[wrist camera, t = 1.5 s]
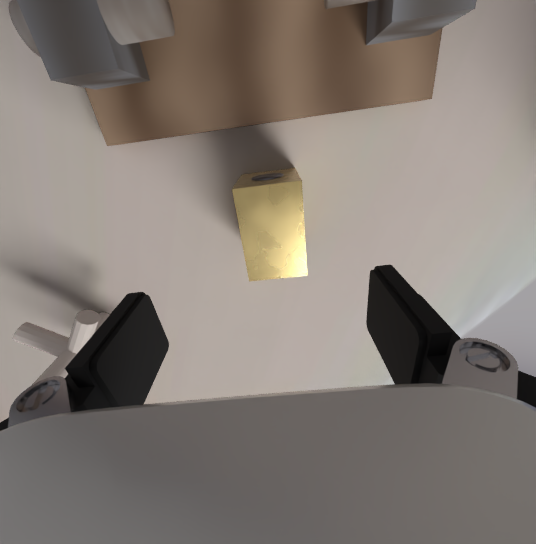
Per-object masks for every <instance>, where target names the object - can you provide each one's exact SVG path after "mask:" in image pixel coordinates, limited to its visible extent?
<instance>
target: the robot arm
mask: <svg viewBox="0 0 536 544" xmlns="http://www.w3.org/2000/svg"><path fill="white" fill-rule="evenodd" d="M367 328H368V331H369V333H370V335H371V337H372V339H373V341H374V343H375V345H376V347H377V349H378V351H379V353H380V355H381V357H382V359H383V361H384V363H385V365H386V367H387V369H388V371H389V373H390V375H391V377H392V379H393V381H394V383H395V384H394V385H378V386H363V387H348V388H335V389H322V390H309V391H297V392H284V393H272V394H259V395H247V396H235V397H224V398H212V399H200V400H189V401H177V402H166V403H155V404H144V402H145V400H146V397H147V395H148V393H149V391H150V389H151V386H152V384H153V382H154V380H155V377H156V375H157V373H158V371H159V369H160V366H161V364H162V362H163V360H164V357H165V355H166V353H167V351H168V347H169V343H168V339H167V337H166V335H165V332H164V330H163V327H162V325H161V323H160V320H159V318H158V315H157V313H156V311H155V308H154V306H153V303H152V301H151V299H150V297H149V296H148V295H146V294H145V293H144V292H137V293H129V294H127V295H126V296H125V298H124V299H123V300H122V301H121V302H120V304H119V305H118V306H117V307H116V308H115V309H114V311H113V312H112V313H111V314H110V315H109V317H108V318H107V319H106V320H105V321H104V322H103V324H102V325H101V326H100V327H99V328H98V330H97V331H96V332H95V333H94V334H93V335H92V337H91V338H90V339H89V340H88V341H87V343H86V344H85V345H84V346H83V347H82V348H81V350H80V351H79V352H78V353H77V354H76V356H75V357H74V358H73V359H72V360H71V361H70V363H69V364H68V365H67V366H66V367H65V370H66V371H67V373H68V375H67V376H66V377H65V378H64V377H61V376H53V377H49V378H45V379H43V380H41V381H38V382H37V383H35V384H33V385H32V386H30V387H29V388H27V389H26V390H25V391H23V392H22V393H21V394H20V395H19V396H18V397H17V398H16V399H15V401H14V402H13V404H12V405H11V408H10V412H9V418H7V419H6V420H4V421H2V422H1V423H0V544H536V377H534V376H531V375H528V374H526V373H523V372H521V371H518V365H517V361H516V360H515V358H514V357H513V356H512V355H511V354H510V353H509V352H508V351H507V350H505V349H504V348H502V347H500V346H498V345H497V344H494V343H492V342H489V341H487V340H482V339H478V338H464V339H461V338H460V337H459V336H458V335H457V334H456V333H455V332H454V331H453V330H452V329H451V328H450V326H449V325H448V324H447V323H446V322H445V321H444V320H443V319H442V318H441V317H440V316H439V315H438V313H437V312H436V311H435V310H434V309H433V308H432V307H431V306H430V305H429V304H428V303H427V301H426V300H425V299H424V298H423V297H422V296H421V295H419V294H417V292H416V291H415V290H414V289H413V288H412V287H411V286H410V285H409V284H408V283H407V281H406V280H405V279H404V278H403V277H402V276H401V275H400V274H399V273H398V272H397V270H396V269H395V268H394V267H393V266H392V265H383V266H376V267H375V269H374V270H371V271H370V280H369V294H368V307H367ZM143 404H144V405H143Z"/></svg>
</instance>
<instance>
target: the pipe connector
mask: <svg viewBox="0 0 536 544" xmlns="http://www.w3.org/2000/svg"><path fill="white" fill-rule="evenodd" d="M109 315H110V314H108V313H104V312H101V313H99V314H98V313H97V312H95V311H93V310H82V311H80V312H78V313H77V315H76V317H75V321H74V324H73V327H72V331H71V334H70V337H69V338H68V337H65V336H62V335H60V334H57V333H55V332H52V331H49V330H47V329H44V328H42V327H39V326H36V325H34V324H31V323H28V322H26V323H24V324H22V325H21V326H20V327H19V328H18V329H17V330H16V332H15V333H14V335H13V337H12V339H13V341H16V342H19V343H21V344H24V345H27V346H30V347H33V348H35V349H38V350H41V351H44V352H46V353H49V354H52V355H55V356H57V357H58V358H57V359H56V360H55V361H54V362H53V363H52V364H51V365H50V366H49V367H48V368H47V369H46V370H45V371H44V372H43V374H42V375H41V376H40V377H39V378H38V379H37V380H36V381H35V382H34V383H33V384H35V383H37V382H38V381H41V380H43V379H45V378H49V377H53V376H61V377H64V378H65V377H66V376H67V375H68V373H67V371H66V370H65V367H66V366H67V365H68V364H69V363H70V361H71V360H72V359H73V358H74V357H75V356H76V354H77V353H78V352H79V351H80V350H81V348H82V347H83V346H84V345H85V344H86V343H87V341H88V340H89V339H90V338H91V337H92V335H93V334H94V333H95V332H96V331H97V330H98V328H99V327H100V326H101V325H102V324H103V322H104V321H105V320H106V319H107V318H108V317H109ZM33 384H32V385H33ZM32 385H31V386H32Z"/></svg>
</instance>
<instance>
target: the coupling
mask: <svg viewBox="0 0 536 544" xmlns="http://www.w3.org/2000/svg"><path fill="white" fill-rule="evenodd" d="M232 192H233V197H234V203H235V208H236V213H237V219H238V224H239V229H240V235H241V240H242V245H243V250H244V256H245V261H246V266H247V272H248V277H249V281H257V280H267V279H277V278H287V277H297V276H307V260H306V244H305V228H304V212H303V195H302V180H301V178H300V177H299V175H298V173H297V171H296V169H295V168H289V169H281V170H274V171H266V172H258V173H251V174H243V175H241V176H240V178H239V179H238V181H237V182H236V184H235V186H234V187H233V189H232Z"/></svg>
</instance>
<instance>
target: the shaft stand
mask: <svg viewBox="0 0 536 544" xmlns="http://www.w3.org/2000/svg"><path fill="white" fill-rule="evenodd" d="M475 5H476V0H12V1H10V3H9V13H10V17H11V20H12V22H13V24H14V26H15V28H16V30H17V32H18V33H19V35H20V37H21V38H22V39H23V41H24V42H25V43H26V45H27V46H28V47H29V48H30V49H31V50H32V51H33V52H34V53H36V54H37V55H38V56H40V57H41V58H42V61H43V63H44V65H45V68H46V70H47V72H48V75H49V77H50V79H51V80H52V81H57V82H62V83H66V84H71V85H76V86H81V87H85V89H86V92H87V95H88V97H89V100H90V102H91V105H92V108H93V110H94V113H95V115H96V118H97V121H98V123H99V126H100V128H101V131H102V134H103V136H104V139H105V142H106V144H107V146H111V145H119V144H126V143H133V142H140V141H147V140H154V139H160V138H167V137H174V136H181V135H188V134H195V133H202V132H208V131H215V130H222V129H229V128H236V127H243V126H250V125H257V124H263V123H270V122H277V121H284V120H291V119H298V118H305V117H311V116H318V115H325V114H332V113H339V112H346V111H353V110H359V109H366V108H373V107H380V106H387V105H394V104H401V103H407V102H414V101H421V100H427V99H432V94H433V87H434V81H435V74H436V67H437V60H438V54H439V47H440V40H441V33H442V28H443V27H444V26H446V25H448V24H449V23H451V22H453V21H454V20H456V19H458V18H460V17H461V16H463V15H465V14H466V13H468V12H470V11H471V10H473V9H475Z"/></svg>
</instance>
